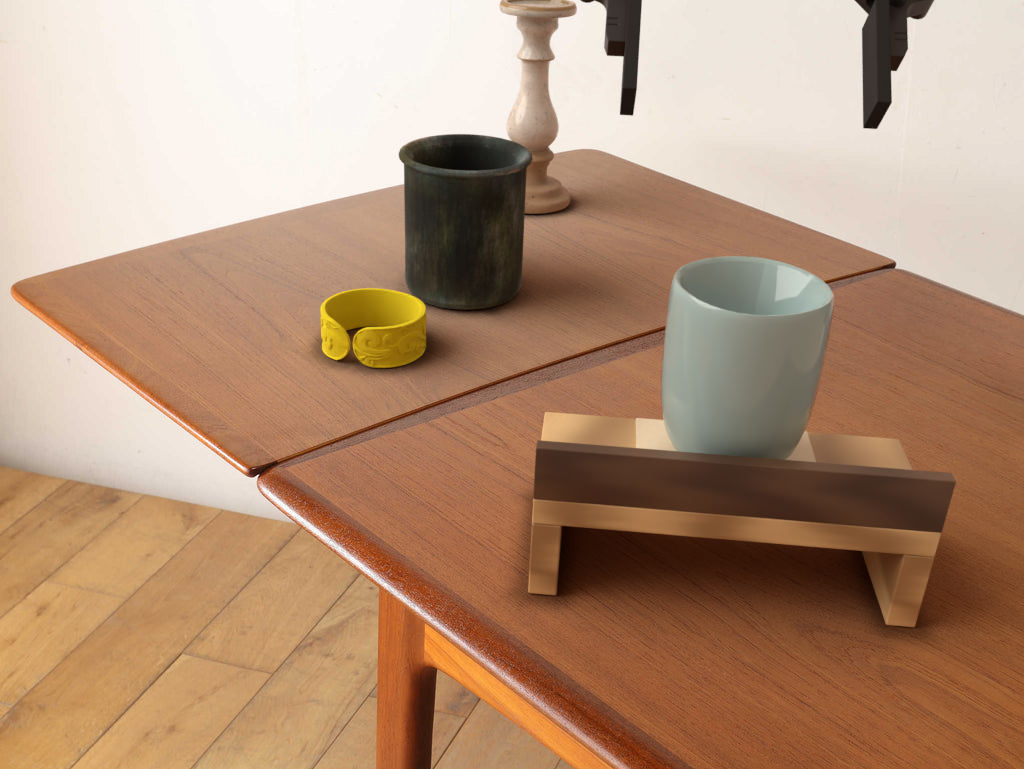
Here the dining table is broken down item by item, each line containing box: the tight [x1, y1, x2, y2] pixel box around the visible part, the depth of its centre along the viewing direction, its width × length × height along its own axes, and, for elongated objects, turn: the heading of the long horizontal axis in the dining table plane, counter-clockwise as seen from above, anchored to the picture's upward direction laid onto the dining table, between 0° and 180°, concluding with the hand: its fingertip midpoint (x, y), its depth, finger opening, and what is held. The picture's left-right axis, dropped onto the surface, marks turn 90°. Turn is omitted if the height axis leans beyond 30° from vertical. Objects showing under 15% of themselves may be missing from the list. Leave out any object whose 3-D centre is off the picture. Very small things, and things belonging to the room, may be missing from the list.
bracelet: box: [319, 287, 427, 369], centre depth 80 cm, size 7×8×3 cm
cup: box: [660, 255, 835, 460], centre depth 54 cm, size 8×8×10 cm
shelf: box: [527, 411, 957, 628], centre depth 57 cm, size 20×9×9 cm, turn 85°
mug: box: [398, 133, 532, 311], centre depth 90 cm, size 11×15×12 cm
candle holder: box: [498, 0, 578, 215], centre depth 108 cm, size 9×9×20 cm
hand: (751, 109), depth 58 cm, fingers open, 13 cm apart
